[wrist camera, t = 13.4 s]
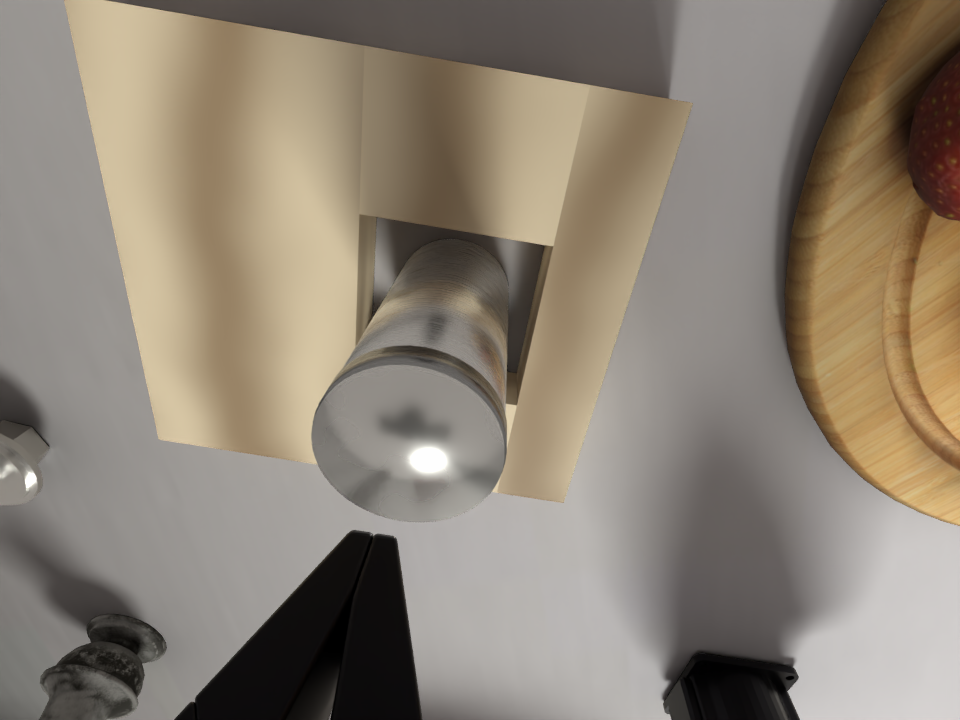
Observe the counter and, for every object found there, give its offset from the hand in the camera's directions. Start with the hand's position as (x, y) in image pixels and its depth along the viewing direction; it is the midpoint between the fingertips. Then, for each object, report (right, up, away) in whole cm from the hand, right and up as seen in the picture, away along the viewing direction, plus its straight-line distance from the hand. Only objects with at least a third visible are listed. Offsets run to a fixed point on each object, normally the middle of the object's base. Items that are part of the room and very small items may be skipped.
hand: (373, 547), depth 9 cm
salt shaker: (-22, -16, +25) cm, 37 cm away
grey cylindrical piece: (+1, +6, +11) cm, 13 cm away
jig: (-2, +7, +11) cm, 13 cm away
